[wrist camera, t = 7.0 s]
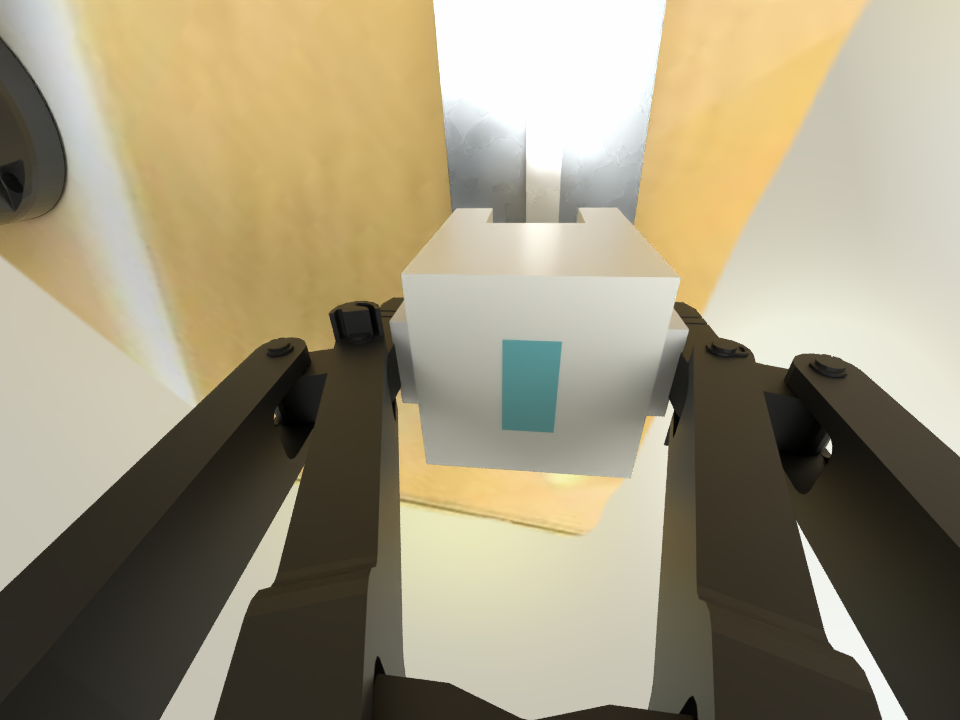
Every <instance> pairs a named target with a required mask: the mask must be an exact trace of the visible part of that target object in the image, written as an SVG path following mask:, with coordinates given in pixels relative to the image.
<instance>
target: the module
mask: <svg viewBox="0 0 960 720" xmlns="http://www.w3.org/2000/svg"><path fill="white" fill-rule="evenodd" d="M680 279H681V277H680V276H679V275H678V274H677V273H676V272H675V271H674V270H673V268H672V267H671V266H670V265H669V264H668V263H667V262H666V261H665V260H664V259H663V258H662V256H661V255H660V254H659V253H658V252H657V251H656V250H655V249H654V248H653V247H652V245H651V244H650V243H649V242H648V241H647V240H646V239H645V238H644V237H643V236H642V234H641V233H640V232H639V231H638V230H637V229H636V228H635V227H634V226H633V225H632V223H631V222H630V221H629V220H628V219H627V218H626V217H625V216H624V215H623V214H622V212H621V211H620V210H619V209H618V208H617V207H614V208H578V215H577V223H493V208H456V210H455V211H454V212H453V213H452V214H451V215H450V217H449V218H448V219H447V220H446V221H445V222H444V224H443V225H442V226H441V227H440V228H439V229H438V231H437V232H436V233H435V234H434V235H433V236H432V238H431V239H430V240H429V241H428V242H427V243H426V245H425V246H424V247H423V248H422V249H421V250H420V252H419V253H418V254H417V255H416V256H415V257H414V259H413V260H412V261H411V262H410V263H409V264H408V266H407V267H406V268H405V269H404V270H403V272H402V273H401V280H402V287H403V295H404V302H405V309H406V317H407V324H408V331H409V339H410V346H411V353H412V361H413V368H414V375H415V382H416V390H417V397H418V404H419V412H420V419H421V426H422V434H423V441H424V448H425V456H426V463H427V464H433V465H448V466H462V467H476V468H490V469H504V470H518V471H532V472H547V473H561V474H575V475H589V476H603V477H617V478H631V475H632V471H633V467H634V463H635V459H636V455H637V451H638V447H639V443H640V439H641V435H642V431H643V427H644V423H645V419H646V415H647V411H648V407H649V403H650V399H651V395H652V391H653V387H654V383H655V379H656V375H657V371H658V367H659V363H660V359H661V355H662V351H663V347H664V343H665V339H666V335H667V331H668V327H669V323H670V319H671V315H672V311H673V307H674V303H675V299H676V295H677V291H678V287H679V283H680Z"/></svg>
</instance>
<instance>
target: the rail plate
mask: <svg viewBox="0 0 960 720" xmlns="http://www.w3.org/2000/svg"><path fill="white" fill-rule="evenodd" d="M433 3H434V14H435V25H436V36H437V47H438V59H439V70H440V81H441V92H442V103H443V115H444V126H445V137H446V148H447V159H448V171H449V182H450V193H451V204H452V213H453V212H454V211H455V210H456V208H493V223H577V215H578V208H614V207H617V208H618V209H619V210H620V211H621V212H622V214H623V215H624V216H625V217H626V218H627V219H628V220H629V221H630V222H631V223H632V225H633V226H634V219H635V212H636V206H637V199H638V192H639V185H640V178H641V171H642V164H643V157H644V151H645V144H646V137H647V130H648V123H649V116H650V109H651V103H652V96H653V89H654V82H655V75H656V68H657V61H658V54H659V48H660V41H661V34H662V27H663V20H664V13H665V6H666V0H433Z"/></svg>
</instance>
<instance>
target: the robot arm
mask: <svg viewBox="0 0 960 720" xmlns="http://www.w3.org/2000/svg"><path fill="white" fill-rule="evenodd" d="M64 177H65V168H64V158H63V152H62V147H61V144H60V140H59V137H58V134H57V131H56V128H55V125H54V123H53V120H52V118H51V116H50V113H49V111H48V109H47V107H46V105H45V103H44V101H43V99H42V98H41V96H40V94H39V92H38V91H37V89H36V87H35V86H34V84H33V82H32V81H31V79H30V78H29V76H28V75H27V73H26V72H25V70H24V69H23V68H22V66H21V65H20V63H19V62H18V61H17V59H16V58H15V57H14V56H13V54H12V53H11V52H10V51H9V49H8V48H7V47H6V46H5V45H4V43H3V42H2V41H1V40H0V225H2V224H8V223H12V222H17V221H22V220H27V219H32V218H36V217H39V216H41V215H43V214H45V213H46V212H48V211H49V210H50V209H52V208H53V206H54V205H55V204H56V203H57V201H58V199H59V197H60V195H61V193H62V190H63V185H64ZM329 316H330V320H331V324H332V328H333V332H334V336H335V340H336V342H335V346H334V348H333V349H328V350H321V351H314V352H308V349H307V346H306V343H305V341H304V340H302V339H300V338H278V339H274V340H271V341H270V342H268V343H266V344H263V345H262V346H260V347H259V348H257V349H256V350H255V351H254V352H253V353H252V354H251V355H250V356H249V357H248V358H246V359H245V360H244V361H243V362H242V363H241V364H240V365H239V366H238V367H237V368H236V369H235V370H234V371H233V372H232V373H231V374H230V375H229V376H227V377H226V378H225V379H224V380H223V381H222V382H221V383H220V384H219V385H218V386H217V387H216V388H215V389H214V390H213V391H212V392H211V393H210V394H208V395H207V396H206V397H205V398H204V399H203V400H202V401H201V402H200V403H199V404H198V405H197V406H196V407H195V408H194V409H193V410H192V411H191V412H190V413H189V414H188V415H186V416H185V417H184V418H183V419H182V420H181V421H180V422H179V423H178V424H177V425H176V426H175V427H174V428H173V429H172V430H171V431H169V432H168V433H167V434H166V435H165V436H164V437H163V438H162V439H161V440H160V441H159V442H158V443H157V444H156V445H155V446H154V447H153V448H152V449H151V450H150V451H148V452H147V453H146V454H145V455H144V456H143V457H142V458H141V459H140V460H139V461H138V462H137V463H136V464H135V465H134V466H133V467H132V468H130V469H129V471H127V472H126V473H125V474H124V475H123V476H122V477H121V478H120V479H119V480H118V481H117V482H116V483H115V484H114V485H113V486H111V487H110V488H109V490H107V491H106V492H105V493H104V494H103V495H102V496H101V497H100V498H99V499H98V500H97V501H96V502H95V503H94V504H93V505H92V506H90V507H89V508H88V509H87V510H86V511H85V512H84V513H83V514H82V515H81V516H80V517H79V518H78V519H77V520H76V521H75V522H74V523H72V524H71V525H70V526H69V527H68V528H67V529H66V530H65V531H64V532H63V533H62V534H61V535H60V536H59V537H58V538H57V539H56V540H55V541H54V542H52V544H50V546H48V547H47V548H46V549H45V550H44V551H43V552H42V553H41V554H40V555H39V556H38V557H37V558H36V559H35V560H33V561H32V563H30V564H29V565H28V566H27V567H26V568H25V569H24V570H23V571H22V572H21V573H20V574H19V575H18V576H17V577H16V578H14V580H13V581H11V582H10V583H9V584H8V585H7V586H6V587H5V588H4V589H3V590H2V591H1V592H0V720H159V719H160V718H161V716H162V714H163V712H164V711H165V709H166V707H167V705H168V704H169V702H170V700H171V698H172V697H173V695H174V693H175V691H176V690H177V688H178V686H179V684H180V683H181V681H182V679H183V677H184V675H185V674H186V672H187V670H188V668H189V667H190V665H191V663H192V661H193V660H194V658H195V656H196V654H197V653H198V651H199V649H200V647H201V646H202V644H203V642H204V640H205V639H206V637H207V635H208V633H209V632H210V630H211V628H212V626H213V625H214V622H215V621H216V619H217V618H218V616H219V614H220V612H221V610H222V609H223V607H224V605H225V603H226V602H227V600H228V598H229V596H230V595H231V593H232V591H233V589H234V588H235V586H236V584H237V582H238V581H239V579H240V577H241V575H242V573H243V572H244V570H245V568H246V567H247V564H248V563H249V561H250V560H251V558H252V556H253V554H254V552H255V551H256V549H257V547H258V545H259V543H260V542H261V540H262V538H263V537H264V535H265V533H266V531H267V530H268V528H269V526H270V524H271V523H272V521H273V519H274V517H275V515H276V514H277V512H278V510H279V509H280V507H281V505H282V503H283V502H284V500H285V498H286V496H287V494H288V493H289V491H290V489H291V487H292V486H293V484H294V482H295V480H296V479H297V477H298V475H299V473H300V472H301V470H302V468H303V466H304V469H303V473H302V477H301V481H300V485H299V489H298V494H297V497H296V501H295V505H294V509H293V513H292V517H291V522H290V525H289V529H288V533H287V537H286V541H285V545H284V549H283V553H282V557H281V561H280V565H279V569H278V573H277V576H276V579H275V581H274V583H273V584H272V586H271V587H269V588H265V589H262V590H259V591H258V592H257V593H256V595H255V596H254V597H253V598H252V600H251V602H250V604H249V607H248V609H247V612H246V614H245V617H244V620H243V623H242V626H241V630H240V633H239V637H238V640H237V643H236V647H235V650H234V654H233V657H232V660H231V664H230V667H229V670H228V674H227V677H226V681H225V684H224V687H223V691H222V694H221V697H220V701H219V704H218V708H217V711H216V715H215V718H214V720H526V719H521V718H519V717H517V716H515V715H513V714H511V713H509V712H507V711H505V710H503V709H501V708H499V707H497V706H495V705H493V704H491V703H489V702H487V701H485V700H483V699H480V698H479V697H476V696H474V695H472V694H470V693H468V692H466V691H464V690H462V689H460V688H458V687H456V686H454V685H452V684H450V683H444V682H437V681H430V680H422V679H414V678H407V677H405V668H404V660H403V636H402V595H401V594H402V590H401V543H400V493H399V445H398V408H397V402H396V396H397V394H398V392H399V389H401V395H402V401H403V403H416V404H418V397H417V390H416V382H415V375H414V368H413V361H412V353H411V346H410V339H409V331H408V324H407V317H406V309H405V302H404V298H392V299H390V300H388V301H387V302H385V303H383V304H382V305H381V307H380V308H379V305H377V304H375V303H374V302H368V301H355V302H350V303H345V304H342V305H339V306H337V307H335V308H334V309H332V310H331V311H330V313H329ZM669 400H670V402H671V404H672V406H673V408H674V413H673V416H672V420H671V423H670V426H669V429H668V433H667V436H666V439H665V443H664V445H666V446H668V445H669V449H668V465H667V480H666V495H665V510H664V511H665V512H664V525H663V541H662V556H661V572H660V587H659V603H658V618H657V634H656V648H655V665H654V677H653V686H652V693H651V698H650V703H649V707H648V710H645V709H638V708H631V707H623V706H615V705H606V706H601V707H596V708H591V709H586V710H581V711H576V712H571V713H566V714H562V715H557V716H552V717H547V718H542V719H537V720H882V717H881V714H880V711H879V708H878V705H877V701H876V698H875V695H874V693H873V690H872V688H871V686H870V683H869V681H868V679H867V677H866V674H865V672H864V670H863V669H862V668H861V667H860V665H859V664H858V663H857V662H856V660H855V659H854V658H853V657H851V656H849V655H846V654H844V653H841V652H839V651H836V650H834V649H833V647H832V646H831V645H830V643H829V642H828V639H827V637H826V634H825V631H824V628H823V624H822V620H821V616H820V612H819V608H818V604H817V600H816V596H815V593H814V588H813V585H812V581H811V577H810V573H809V569H808V566H807V561H806V558H805V553H804V549H803V546H802V542H801V538H800V534H799V530H798V526H797V523H798V524H799V526H800V528H801V530H802V531H803V533H804V535H805V537H806V538H807V540H808V542H809V544H810V546H811V547H812V549H813V551H814V553H815V554H816V556H817V558H818V560H819V562H820V563H821V565H822V567H823V569H824V571H825V572H826V574H827V576H828V578H829V579H830V581H831V583H832V585H833V587H834V588H835V590H836V592H837V594H838V595H839V597H840V599H841V601H842V603H843V604H844V606H845V608H846V610H847V611H848V613H849V615H850V617H851V618H852V620H853V622H854V624H855V626H856V627H857V629H858V631H859V633H860V634H861V636H862V638H863V640H864V642H865V643H866V645H867V647H868V649H869V651H870V652H871V654H872V656H873V658H874V659H875V661H876V663H877V665H878V667H879V668H880V670H881V672H882V673H883V675H884V677H885V679H886V681H887V683H888V684H889V686H890V688H891V689H892V691H893V693H894V695H895V697H896V699H897V700H898V702H899V704H900V706H901V707H902V709H903V711H904V713H905V715H906V716H907V718H908V720H960V457H959V456H958V455H957V454H956V453H955V452H953V451H952V450H951V449H950V448H949V447H948V446H947V445H945V444H944V443H943V442H942V441H941V440H940V439H939V438H938V437H936V436H935V435H934V434H933V433H932V432H931V431H929V430H928V429H927V428H926V427H925V426H924V425H923V424H921V423H920V422H919V421H918V420H917V419H916V418H915V417H914V416H912V415H911V414H910V413H909V412H908V411H907V410H906V409H904V408H903V407H902V406H901V405H900V404H899V403H898V402H896V401H895V400H894V399H893V398H892V397H891V396H890V395H889V394H887V393H886V392H885V391H884V390H883V389H882V388H880V387H879V386H878V385H877V384H876V383H875V382H874V381H872V380H871V379H870V378H869V377H868V376H867V375H866V374H864V373H863V372H862V371H861V370H859V369H858V368H857V367H855V366H853V365H852V364H850V363H847V362H845V361H843V360H842V359H840V358H837V357H834V356H833V357H831V356H830V355H826V354H822V355H820V354H801V355H798V356H795V358H794V359H793V361H792V363H791V365H790V368H789V369H785V368H780V367H774V366H769V365H763V364H760V363H756V362H755V358H754V355H753V353H752V352H751V350H750V349H748V348H747V347H745V346H744V345H742V344H740V343H737V342H735V341H732V340H727V339H723V338H719V337H718V336H717V335H716V334H715V332H714V331H713V330H712V329H711V327H710V326H709V325H707V323H706V321H705V320H704V319H703V318H702V316H701V315H700V314H699V313H698V312H697V310H696V309H694V308H692V307H691V306H689V305H687V304H685V303H683V302H675V303H674V307H673V311H672V315H671V319H670V323H669V327H668V331H667V335H666V339H665V343H664V347H663V351H662V355H661V359H660V363H659V367H658V371H657V375H656V379H655V383H654V387H653V391H652V395H651V399H650V403H649V407H648V411H647V415H646V416H665V413H666V409H667V406H668V402H669ZM274 413H275V415H276V417H275V419H274ZM830 439H831V441H832V454H830V453H829V452H828V450H827V449H826V448H825V447H826V446H827V444H828V442H829V441H830ZM796 521H797V522H796Z"/></svg>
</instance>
